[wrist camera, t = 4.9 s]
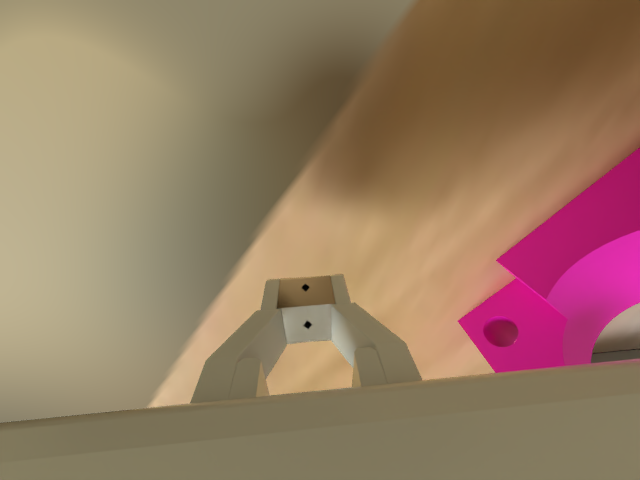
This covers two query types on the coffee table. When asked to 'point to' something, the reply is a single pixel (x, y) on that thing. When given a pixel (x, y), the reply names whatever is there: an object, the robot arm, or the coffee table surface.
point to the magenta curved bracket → (566, 279)
